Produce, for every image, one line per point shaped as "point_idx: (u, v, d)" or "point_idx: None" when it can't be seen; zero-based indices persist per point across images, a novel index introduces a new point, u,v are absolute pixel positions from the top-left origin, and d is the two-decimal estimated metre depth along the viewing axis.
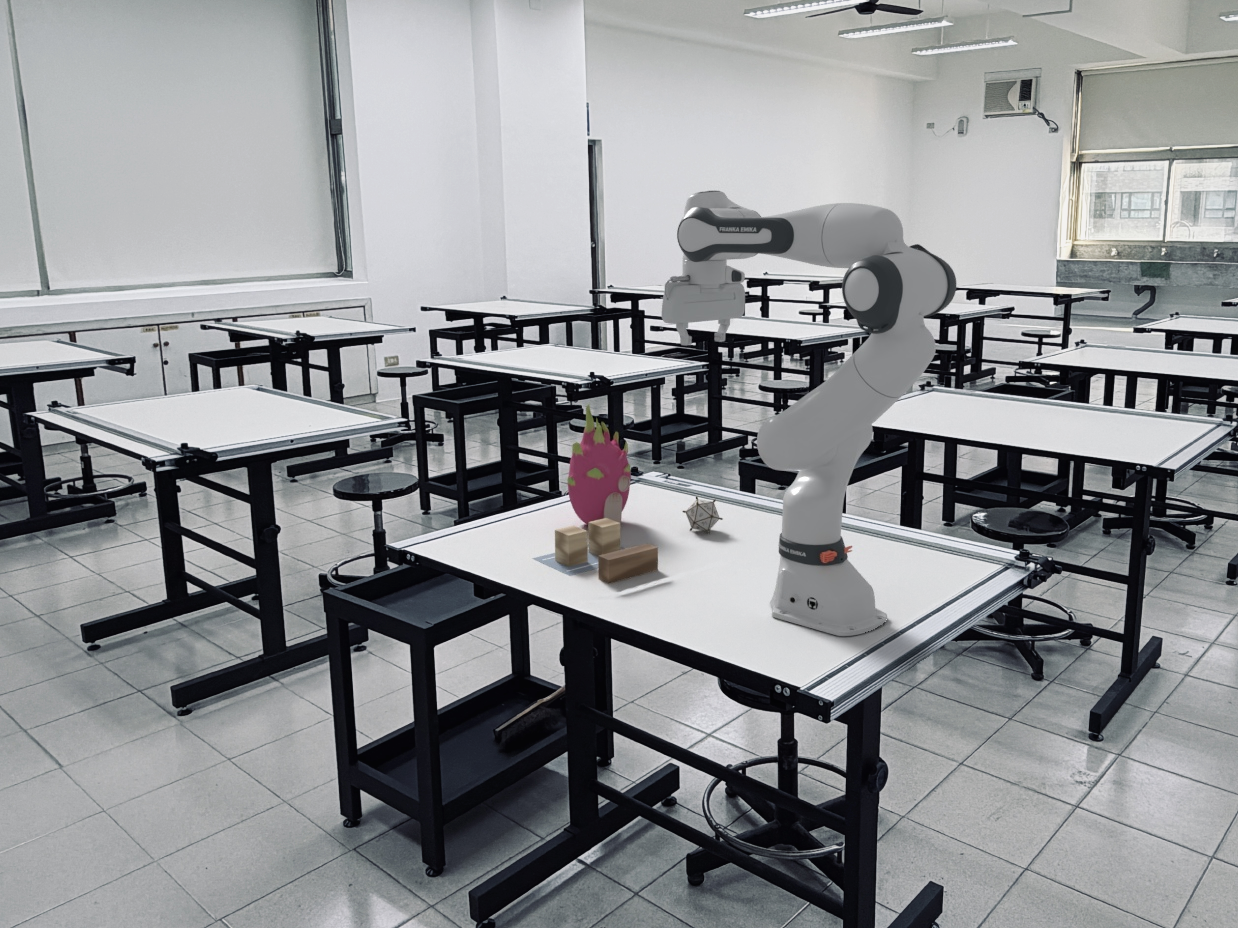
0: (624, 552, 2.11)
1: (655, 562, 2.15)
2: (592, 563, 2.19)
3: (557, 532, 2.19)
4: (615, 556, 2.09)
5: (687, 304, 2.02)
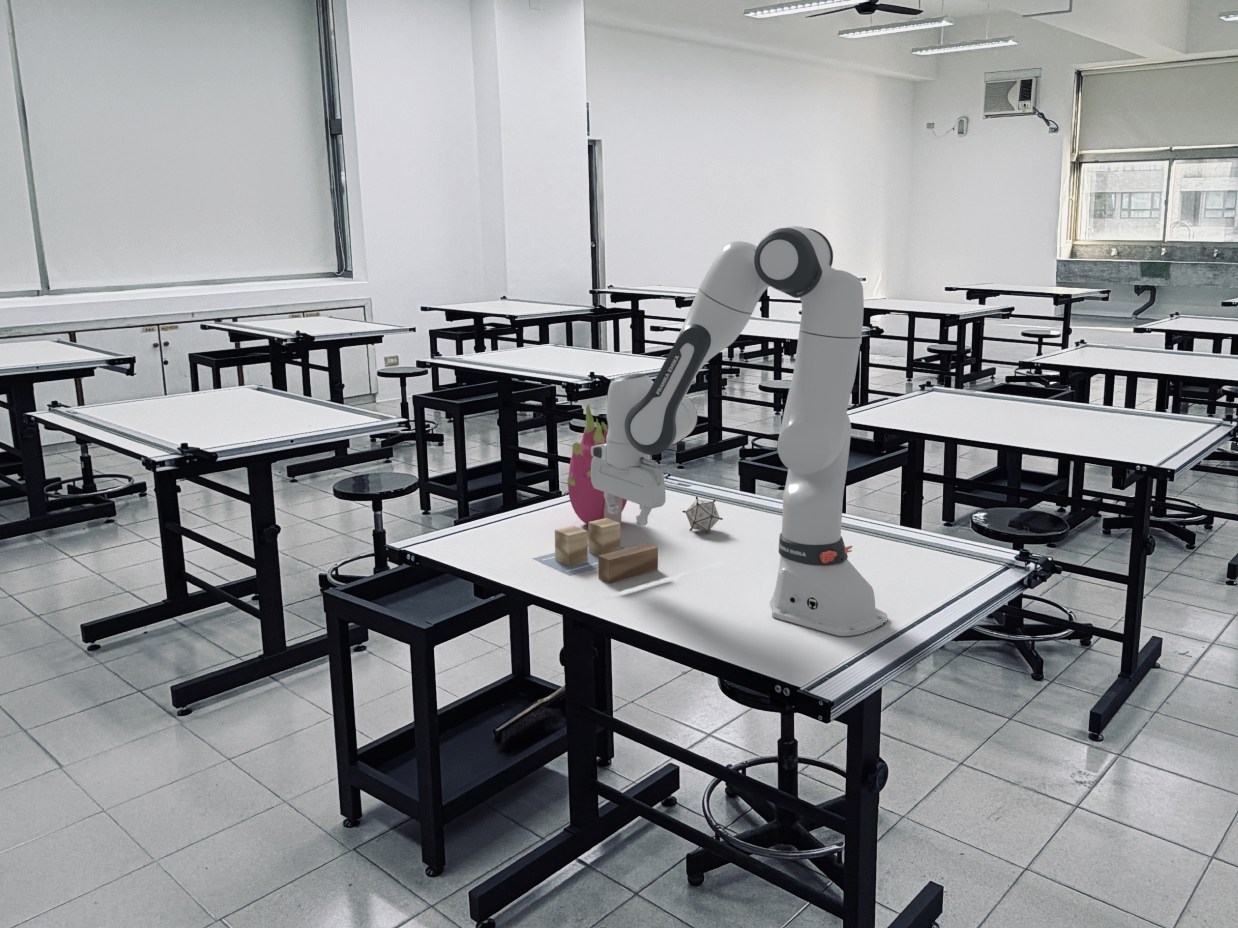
0: (624, 552, 2.11)
1: (655, 562, 2.15)
2: (592, 563, 2.19)
3: (557, 532, 2.19)
4: (615, 556, 2.09)
5: None
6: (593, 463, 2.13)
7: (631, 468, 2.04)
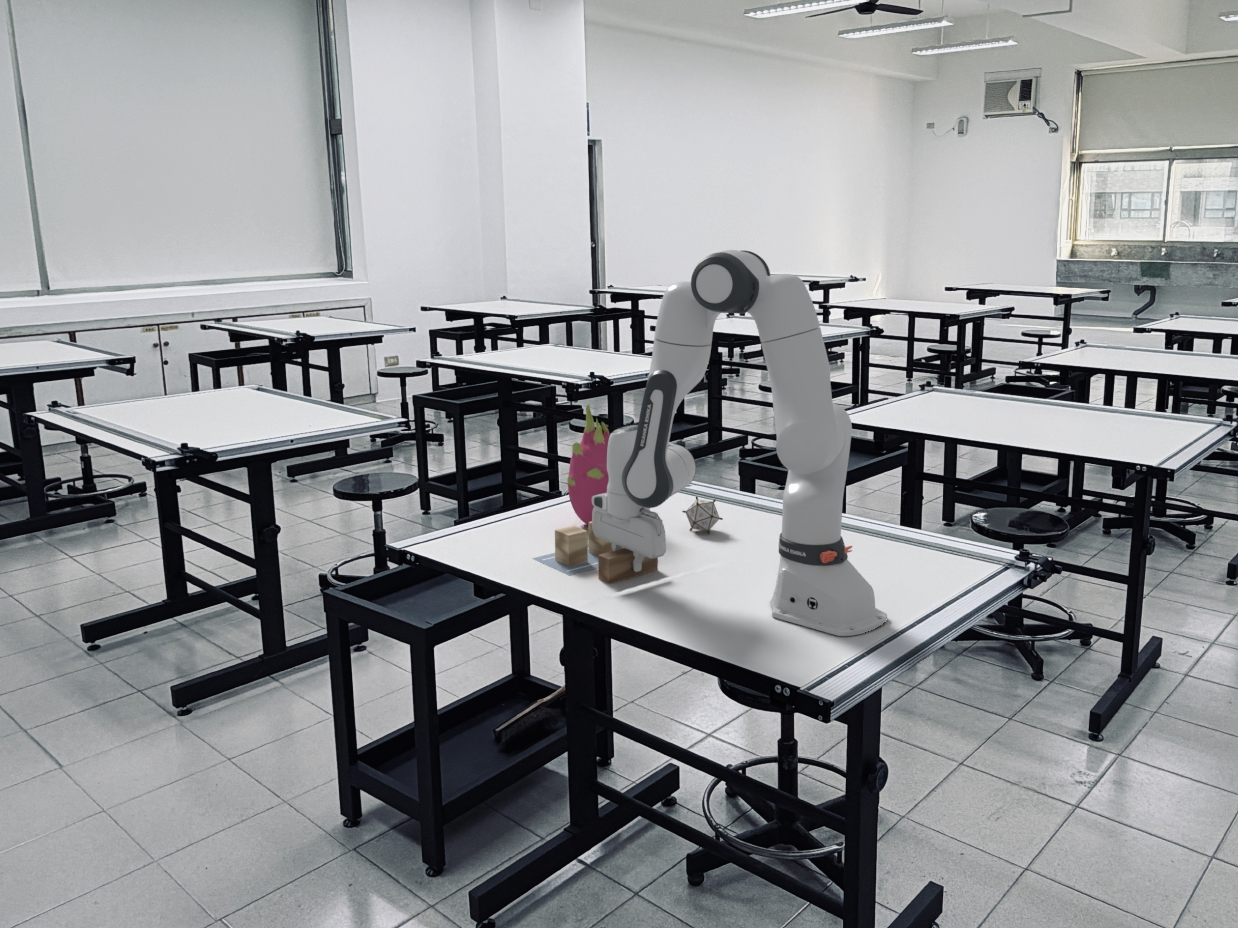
0: (624, 551, 2.11)
1: (655, 561, 2.15)
2: (592, 563, 2.19)
3: (557, 532, 2.19)
4: (615, 555, 2.09)
5: None
6: (594, 512, 2.15)
7: (632, 518, 2.06)
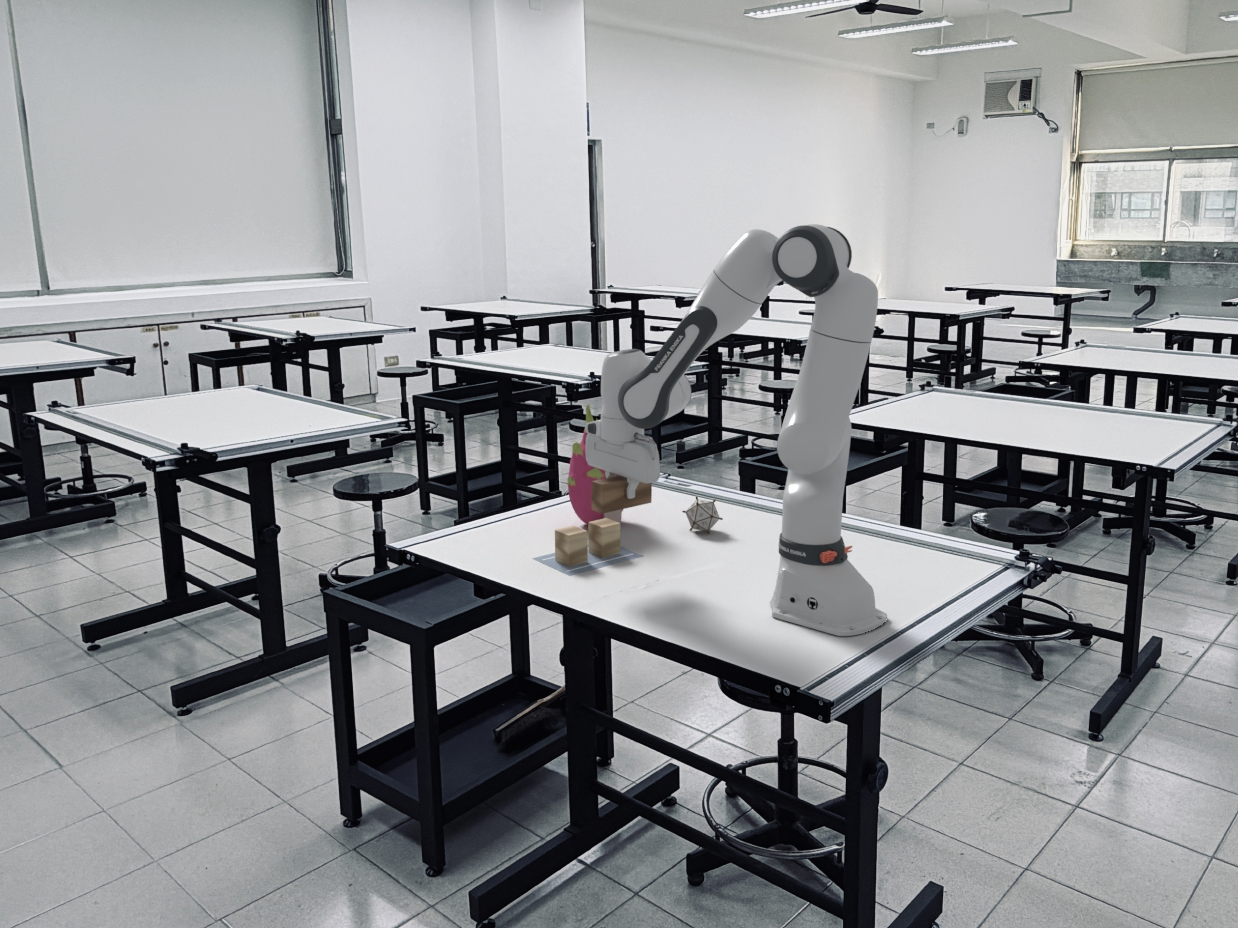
0: (618, 478, 2.09)
1: (649, 490, 2.12)
2: (592, 563, 2.19)
3: (557, 532, 2.19)
4: (608, 482, 2.06)
5: None
6: (588, 440, 2.13)
7: (625, 443, 2.04)
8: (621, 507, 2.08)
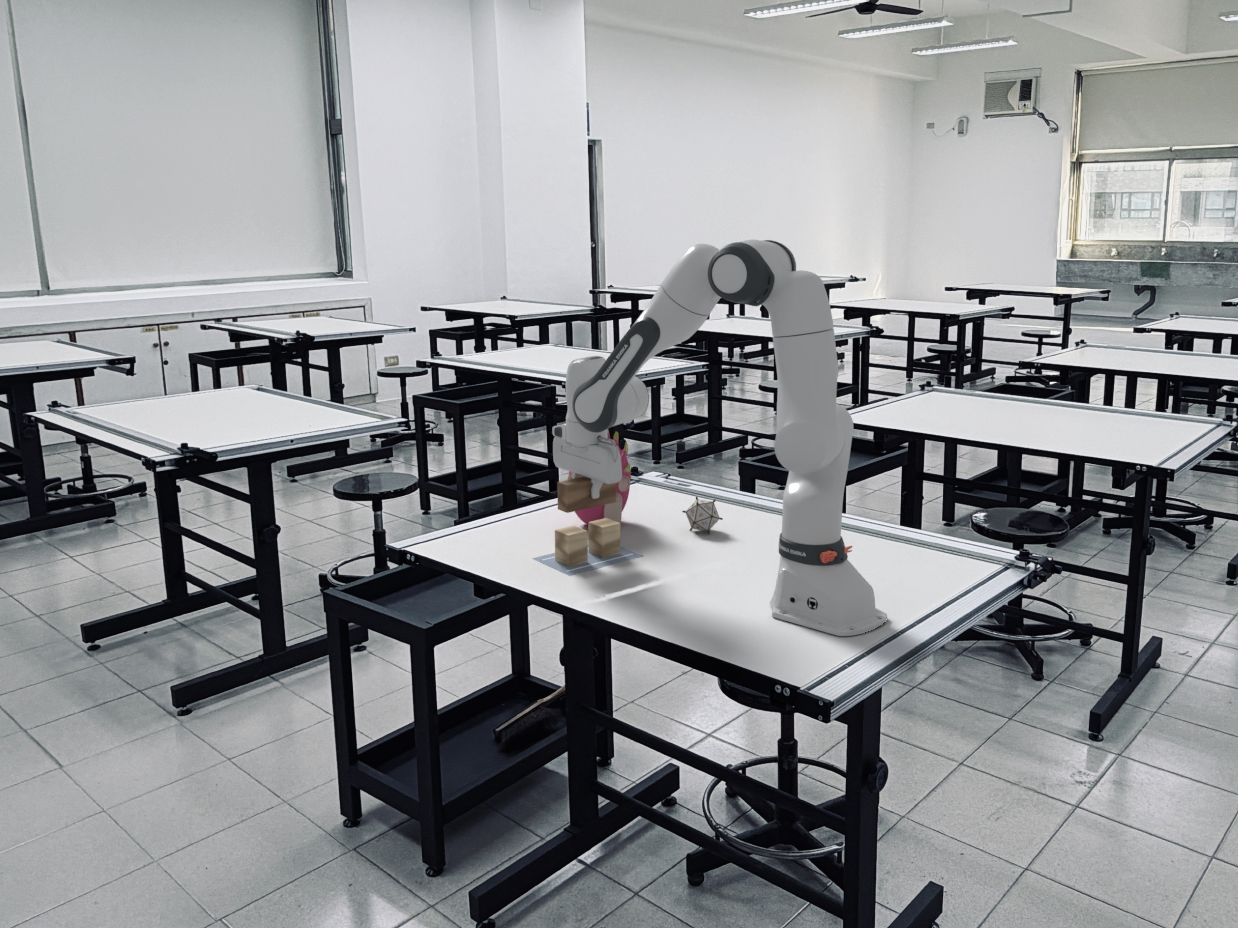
0: (582, 479, 2.19)
1: (613, 490, 2.22)
2: (592, 563, 2.19)
3: (557, 532, 2.19)
4: (573, 482, 2.16)
5: None
6: (555, 443, 2.23)
7: (589, 446, 2.14)
8: (586, 506, 2.18)
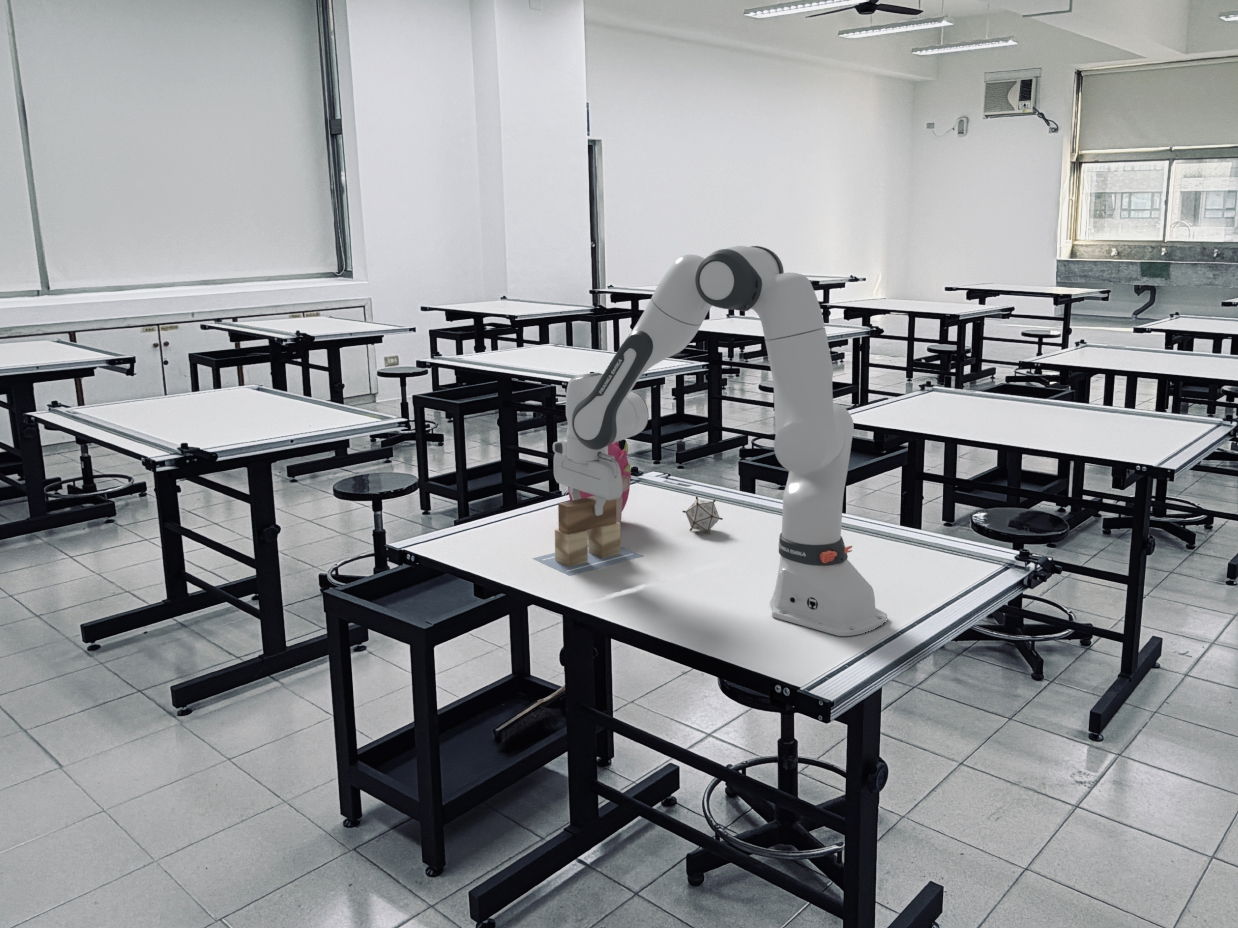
0: (583, 500, 2.20)
1: (614, 511, 2.23)
2: (592, 563, 2.19)
3: (557, 532, 2.19)
4: (574, 504, 2.17)
5: None
6: (555, 458, 2.23)
7: (590, 462, 2.15)
8: (587, 528, 2.20)
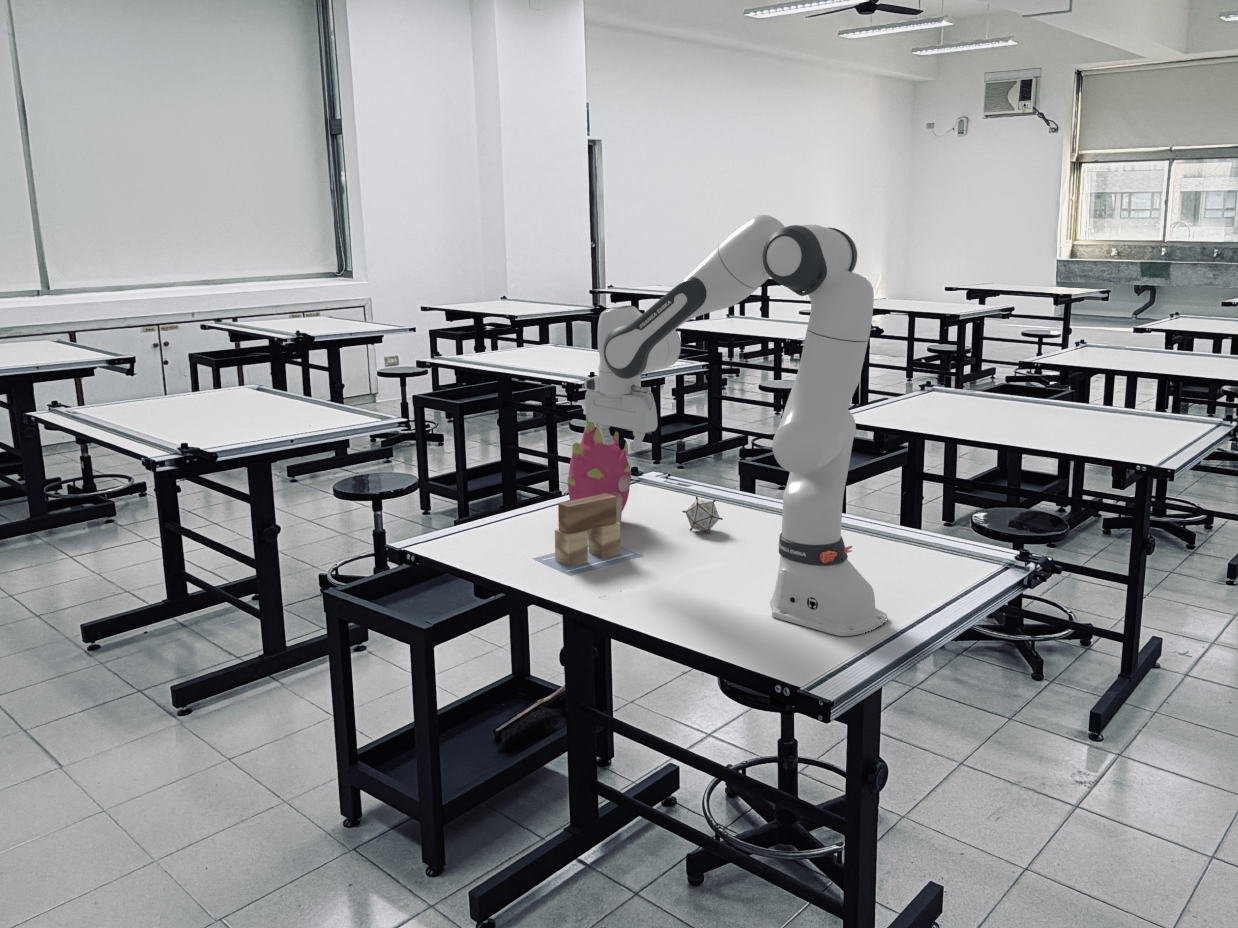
0: (583, 500, 2.20)
1: (614, 511, 2.23)
2: (592, 563, 2.19)
3: (557, 532, 2.19)
4: (574, 504, 2.17)
5: None
6: (587, 396, 2.22)
7: (623, 396, 2.13)
8: (587, 528, 2.20)
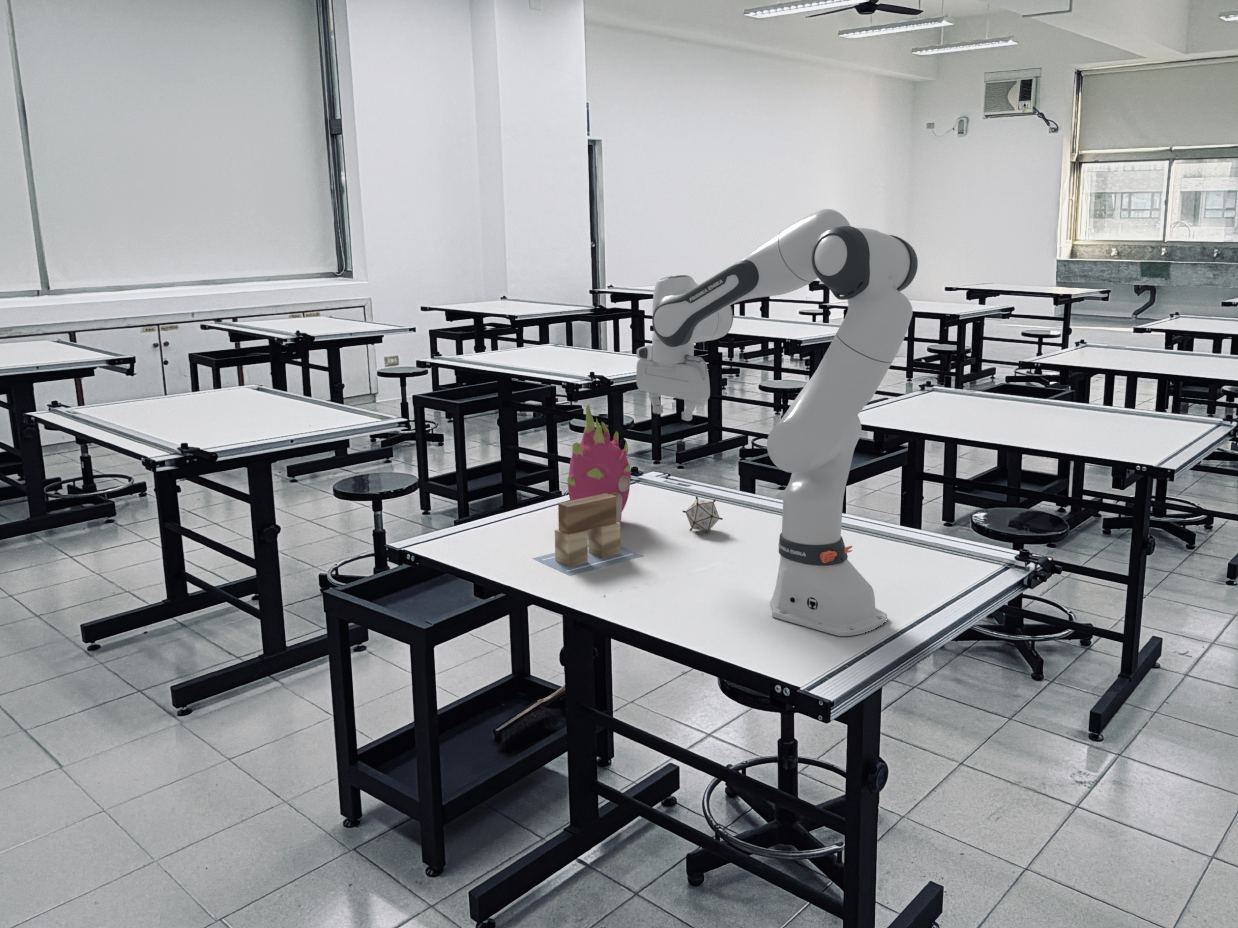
0: (583, 500, 2.20)
1: (614, 511, 2.23)
2: (592, 563, 2.19)
3: (557, 532, 2.19)
4: (574, 504, 2.17)
5: None
6: (639, 365, 2.23)
7: (676, 365, 2.14)
8: (587, 528, 2.20)
